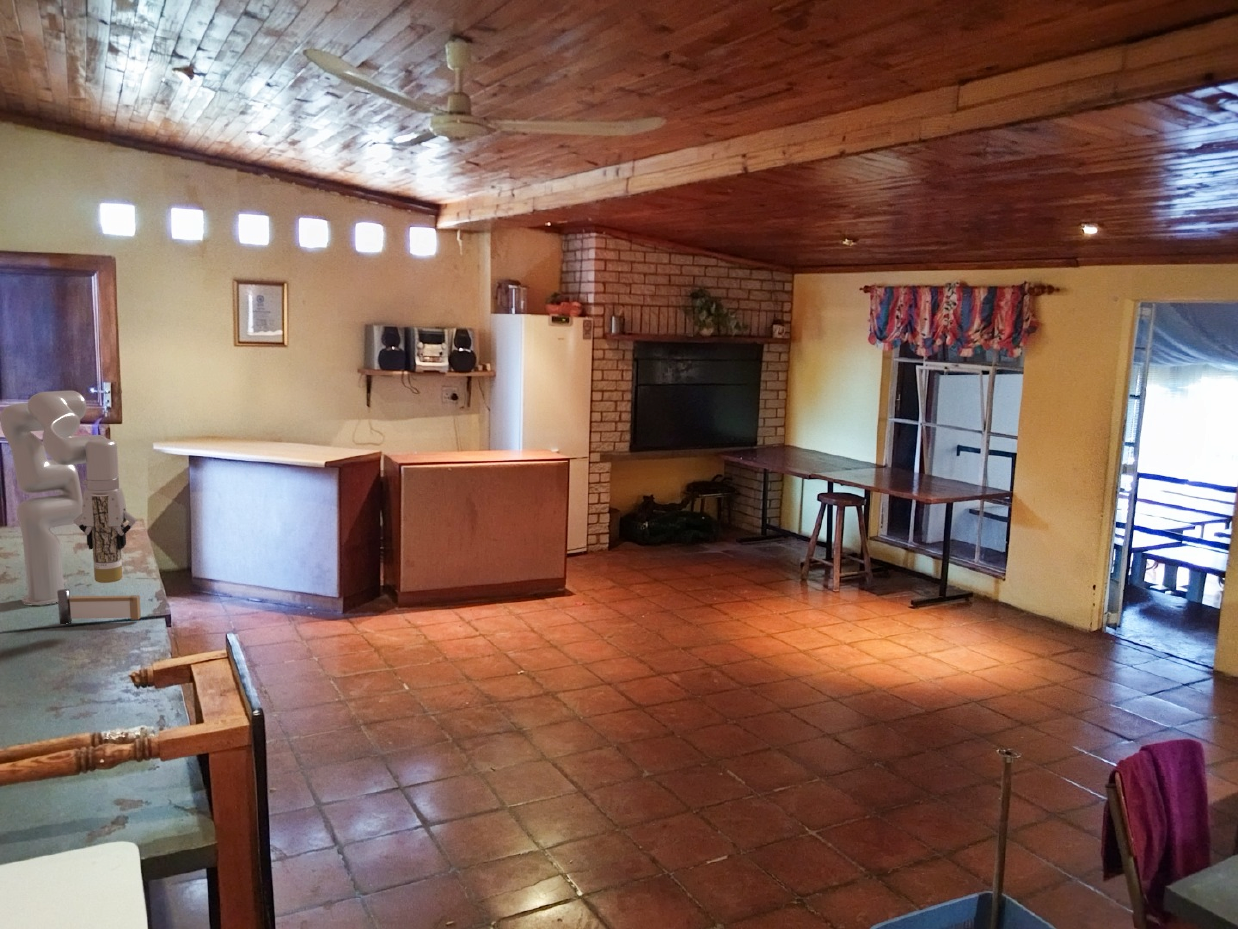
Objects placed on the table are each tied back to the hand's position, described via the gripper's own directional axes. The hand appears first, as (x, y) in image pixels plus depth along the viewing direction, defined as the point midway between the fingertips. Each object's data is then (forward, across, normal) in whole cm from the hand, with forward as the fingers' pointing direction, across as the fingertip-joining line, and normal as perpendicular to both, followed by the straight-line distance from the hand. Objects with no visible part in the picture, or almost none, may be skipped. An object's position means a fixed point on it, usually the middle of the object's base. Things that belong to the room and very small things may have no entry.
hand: (106, 547), depth 255 cm
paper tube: (+10, 0, 0) cm, 10 cm away
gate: (+22, -4, +5) cm, 23 cm away
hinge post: (+24, -14, +5) cm, 28 cm away
